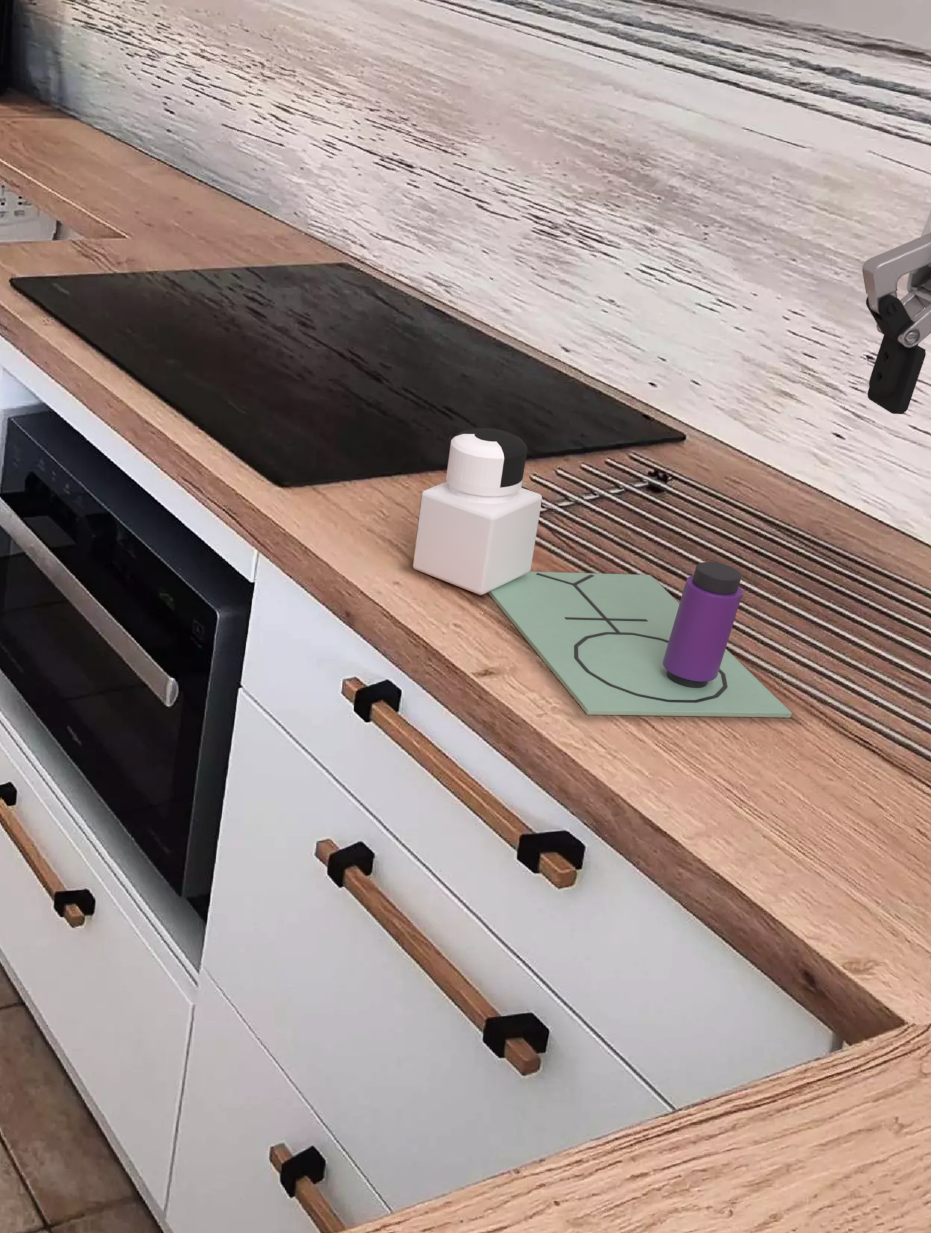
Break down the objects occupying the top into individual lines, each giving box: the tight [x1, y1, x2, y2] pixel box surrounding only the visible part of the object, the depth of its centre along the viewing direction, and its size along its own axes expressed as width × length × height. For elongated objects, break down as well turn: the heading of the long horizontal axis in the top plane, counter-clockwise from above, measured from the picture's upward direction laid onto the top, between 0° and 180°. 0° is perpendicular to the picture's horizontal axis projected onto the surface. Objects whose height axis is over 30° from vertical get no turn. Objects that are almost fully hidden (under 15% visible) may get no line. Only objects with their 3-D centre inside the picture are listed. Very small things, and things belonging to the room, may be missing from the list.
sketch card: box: [486, 571, 793, 719], centre depth 139 cm, size 24×16×1 cm, turn 8°
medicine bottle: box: [412, 427, 543, 596], centre depth 145 cm, size 7×7×12 cm
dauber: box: [663, 561, 744, 688], centre depth 131 cm, size 4×4×9 cm
